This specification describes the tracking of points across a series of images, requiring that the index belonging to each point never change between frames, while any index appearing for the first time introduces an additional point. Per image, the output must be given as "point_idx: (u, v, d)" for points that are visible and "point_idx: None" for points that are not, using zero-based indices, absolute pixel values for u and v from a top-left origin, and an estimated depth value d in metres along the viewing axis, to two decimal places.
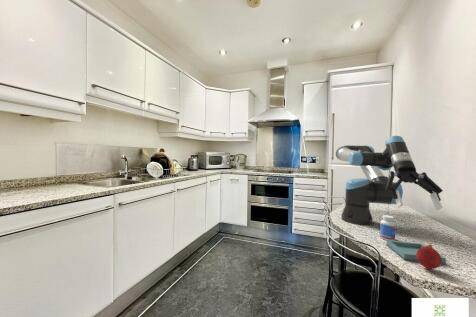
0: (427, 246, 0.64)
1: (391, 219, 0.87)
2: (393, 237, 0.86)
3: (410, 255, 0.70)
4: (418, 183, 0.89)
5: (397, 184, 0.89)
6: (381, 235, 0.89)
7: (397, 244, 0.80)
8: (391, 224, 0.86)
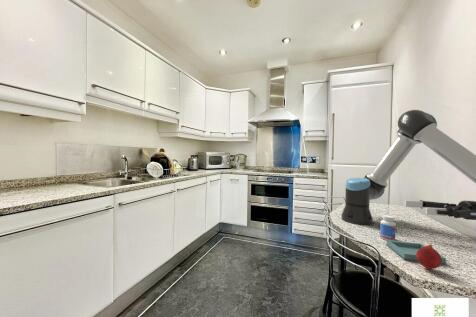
0: (427, 246, 0.64)
1: (391, 219, 0.87)
2: (393, 237, 0.86)
3: (410, 255, 0.70)
4: (440, 206, 0.88)
5: None
6: (381, 235, 0.89)
7: (397, 244, 0.80)
8: (391, 224, 0.86)
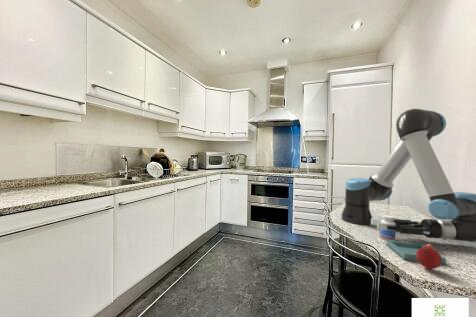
0: (427, 246, 0.64)
1: (391, 219, 0.87)
2: (393, 237, 0.86)
3: (410, 255, 0.70)
4: (405, 224, 0.89)
5: None
6: (381, 235, 0.89)
7: (397, 244, 0.80)
8: None
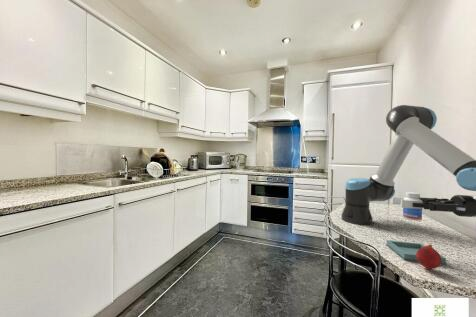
0: (427, 246, 0.64)
1: (417, 195, 0.74)
2: (420, 216, 0.74)
3: (410, 255, 0.70)
4: (432, 202, 0.77)
5: (433, 209, 0.72)
6: (405, 215, 0.76)
7: (397, 244, 0.80)
8: None
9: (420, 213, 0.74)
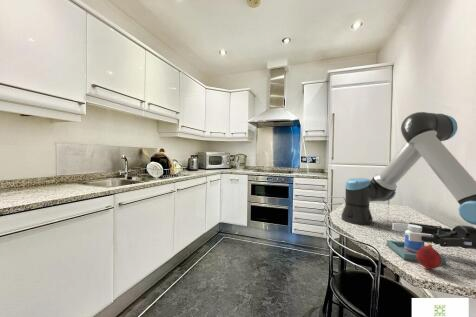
0: (427, 246, 0.64)
1: (419, 230, 0.73)
2: None
3: (410, 255, 0.70)
4: (433, 231, 0.76)
5: None
6: (406, 248, 0.75)
7: (397, 244, 0.80)
8: None
9: None
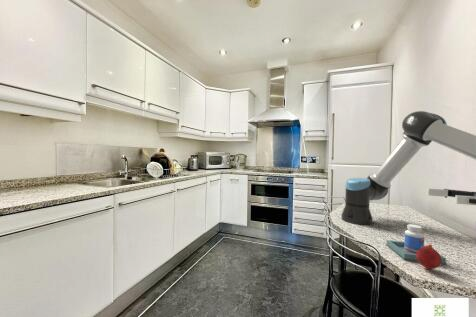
0: (427, 246, 0.64)
1: (419, 229, 0.73)
2: None
3: (410, 255, 0.70)
4: (470, 195, 0.77)
5: None
6: (406, 248, 0.75)
7: (397, 244, 0.80)
8: (419, 236, 0.72)
9: None
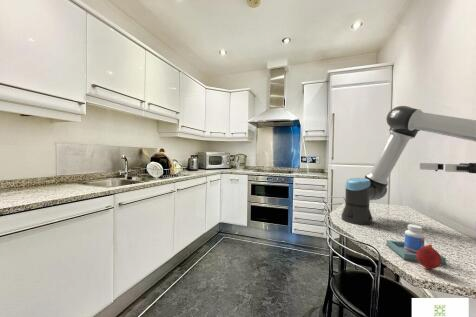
0: (427, 246, 0.64)
1: (419, 230, 0.73)
2: None
3: (410, 255, 0.70)
4: None
5: None
6: (406, 248, 0.75)
7: (397, 244, 0.80)
8: (419, 236, 0.72)
9: None
